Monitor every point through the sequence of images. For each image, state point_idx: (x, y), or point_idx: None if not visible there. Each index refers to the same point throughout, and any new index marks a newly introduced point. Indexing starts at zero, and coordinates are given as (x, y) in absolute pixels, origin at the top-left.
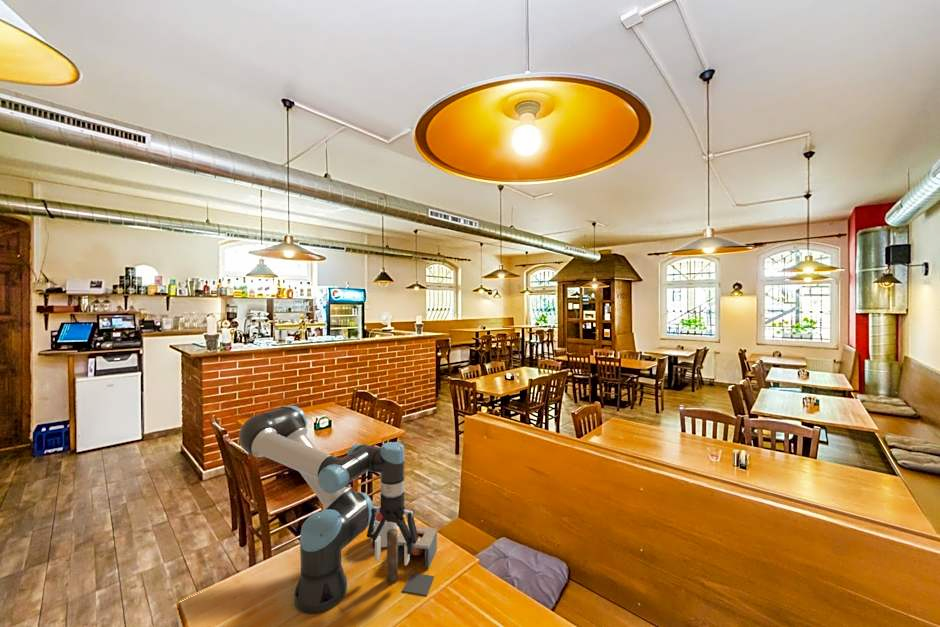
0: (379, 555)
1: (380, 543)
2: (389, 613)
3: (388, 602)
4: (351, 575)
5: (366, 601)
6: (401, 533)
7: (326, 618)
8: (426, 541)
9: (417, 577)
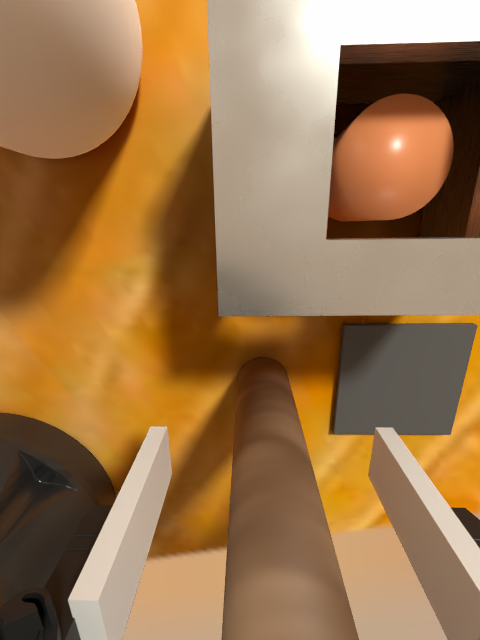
0: (165, 450)
1: (134, 510)
2: None
3: None
4: (63, 391)
5: (208, 491)
6: (230, 164)
7: None
8: None
9: (387, 352)
